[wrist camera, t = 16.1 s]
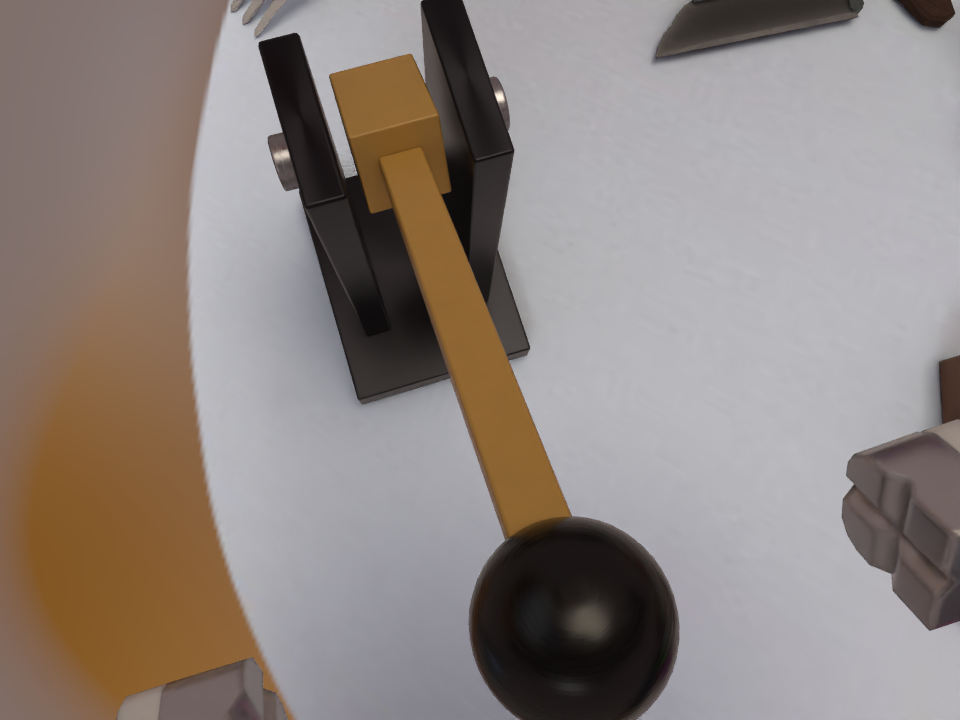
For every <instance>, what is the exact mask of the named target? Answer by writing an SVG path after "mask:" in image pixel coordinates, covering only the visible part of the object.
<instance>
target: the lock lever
mask: <svg viewBox="0 0 960 720" xmlns="http://www.w3.org/2000/svg"><path fill="white" fill-rule="evenodd" d="M329 78H330V82H331V85H332V89H333V92H334V95H335V99H336V102H337V106H338V109H339V113H340V116H341V119H342V123H343V126H344V130H345V133H346V137H347V140H348V144H349V147H350V150H351V154H352V157H353V160H354V163H355V167H356V170H357V173H358V176H359V179H360V183H361V186H362V189H363V192H364V196H365V199H366V202H367V205H368V209H369V212H370V213H376V212H380V211H383V210H387V209H390V208H393V211H394V214H395V217H396V220H397V222H398V225H399V228H400V231H401V234H402V237H403V240H404V243H405V246H406V249H407V252H408V255H409V258H410V261H411V264H412V267H413V270H414V273H415V276H416V278H417V281H418V284H419V287H420V290H421V293H422V296H423V299H424V302H425V305H426V308H427V311H428V314H429V317H430V320H431V323H432V326H433V329H434V332H435V334H436V337H437V340H438V343H439V346H440V349H441V352H442V355H443V358H444V361H445V364H446V367H447V370H448V373H449V376H450V379H451V382H452V385H453V387H454V390H455V393H456V396H457V399H458V402H459V405H460V408H461V411H462V414H463V417H464V420H465V423H466V426H467V429H468V432H469V435H470V438H471V441H472V443H473V446H474V449H475V452H476V455H477V458H478V461H479V464H480V467H481V470H482V473H483V476H484V479H485V482H486V485H487V488H488V491H489V494H490V497H491V499H492V502H493V505H494V508H495V511H496V514H497V517H498V520H499V523H500V526H501V529H502V532H503V535H504V538H505V542H503V543H502V544H501V545H500V546H499V547H498V548H497V549H496V550H495V552H494V553H493V554H492V555H491V557H490V558H489V559H488V561H487V562H486V564H485V565H484V567H483V569H482V571H481V573H480V575H479V577H478V579H477V582H476V585H475V588H474V591H473V595H472V599H471V604H470V610H469V632H470V641H471V646H472V651H473V655H474V658H475V661H476V664H477V667H478V670H479V671H480V673H481V675H482V677H483V679H484V681H485V683H486V684H487V686H488V687H489V689H490V690H491V692H492V693H493V695H494V696H495V697H496V698H497V699H498V701H499V702H500V703H501V704H502V705H503V706H504V707H505V708H506V709H507V710H508V711H509V712H510V713H512V714H513V715H514V716H515V717H517V718H518V719H520V720H636V719H638V718H639V717H640V716H641V715H642V714H643V713H645V712H646V711H647V710H648V709H649V708H650V707H651V705H652V704H653V703H654V702H655V701H656V700H657V698H658V697H659V696H660V694H661V693H662V691H663V690H664V688H665V686H666V685H667V683H668V680H669V678H670V676H671V674H672V672H673V668H674V665H675V661H676V658H677V652H678V645H679V618H678V611H677V607H676V603H675V599H674V595H673V592H672V590H671V587H670V585H669V582H668V580H667V578H666V576H665V574H664V573H663V571H662V569H661V568H660V566H659V565H658V563H657V562H656V561H655V559H654V558H653V557H652V556H651V555H650V554H649V552H648V551H647V550H646V549H645V548H644V547H643V546H642V545H641V544H640V543H638V542H637V541H636V540H635V539H634V538H632V537H631V536H629V535H628V534H626V533H625V532H623V531H622V530H620V529H618V528H616V527H614V526H612V525H610V524H607V523H604V522H601V521H598V520H594V519H590V518H584V517H575V516H572V515H571V513H570V510H569V508H568V505H567V503H566V501H565V498H564V496H563V493H562V491H561V488H560V486H559V483H558V481H557V478H556V476H555V473H554V471H553V469H552V466H551V464H550V461H549V459H548V456H547V454H546V451H545V449H544V446H543V444H542V441H541V439H540V437H539V434H538V432H537V429H536V427H535V424H534V422H533V419H532V417H531V414H530V412H529V409H528V407H527V404H526V402H525V400H524V397H523V395H522V392H521V390H520V387H519V385H518V382H517V380H516V377H515V375H514V372H513V370H512V368H511V365H510V363H509V360H508V358H507V355H506V353H505V350H504V348H503V345H502V343H501V340H500V338H499V336H498V333H497V331H496V328H495V326H494V323H493V321H492V318H491V316H490V313H489V311H488V308H487V306H486V304H485V301H484V299H483V296H482V294H481V291H480V289H479V286H478V284H477V281H476V279H475V276H474V274H473V272H472V269H471V267H470V264H469V262H468V259H467V257H466V254H465V252H464V249H463V247H462V244H461V242H460V239H459V237H458V235H457V232H456V230H455V227H454V225H453V222H452V220H451V217H450V215H449V212H448V210H447V207H446V205H445V203H444V200H443V198H442V195H441V194H445V193H448V192H451V184H450V178H449V172H448V166H447V160H446V154H445V148H444V142H443V136H442V130H441V123H440V117H439V113H438V111H437V109H436V107H435V104H434V102H433V100H432V98H431V96H430V93H429V91H428V89H427V87H426V84H425V82H424V80H423V78H422V75H421V73H420V71H419V69H418V67H417V64H416V62H415V60H414V58H413V55H412V54H407V55H403V56H399V57H395V58H391V59H387V60H383V61H379V62H375V63H372V64H368V65H364V66H360V67H356V68H352V69H348V70H344V71H340V72H337V73H333V74H330V75H329Z"/></svg>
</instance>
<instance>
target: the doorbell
mask: <svg viewBox="0 0 960 720" xmlns="http://www.w3.org/2000/svg"><path fill="white" fill-rule="evenodd" d="M940 376H941V392H942V408H943V424H945V423H948V422H951V421H954V420H957V419H959V420H960V355H959V356H956V357H952V358H949V359H946V360H943V361H940Z"/></svg>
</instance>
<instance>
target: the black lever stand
mask: <svg viewBox="0 0 960 720" xmlns="http://www.w3.org/2000/svg"><path fill="white" fill-rule="evenodd" d="M421 17H422V33H423V49H424V65H425V81H426V87H427V89H428V91H429V93H430V96H431V98H432V100H433V102H434V104H435V107H436V109H437V111H438V113H439V117H440V123H441V130H442V136H443V142H444V148H445V154H446V160H447V166H448V172H449V178H450V184H451V192H448V193H445V194H441V195H442V198H443V200H444V203H445V205H446V207H447V210H448V212H449V215H450V217H451V220H452V222H453V225H454V227H455V230H456V232H457V235H458V237H459V239H460V242H461V244H462V247H463V249H464V252H465V254H466V257H467V259H468V262H469V264H470V267H471V269H472V272H473V274H474V276H475V279H476V281H477V284H478V286H479V289H480V291H481V294H482V296H483V299H484V301H485V304H486V306H487V308H488V311H489V313H490V316H491V318H492V321H493V323H494V326H495V328H496V331H497V333H498V336H499V338H500V340H501V343H502V345H503V348H504V350H505V353H506V355H507V358H508V360H511V359H515V358H518V357H521V356H525V355H527V354H528V352H529V350H530V345H529V342H528V339H527V336H526V333H525V330H524V327H523V324H522V321H521V318H520V315H519V312H518V309H517V306H516V303H515V300H514V297H513V294H512V291H511V288H510V285H509V282H508V279H507V276H506V273H505V270H504V267H503V264H502V261H501V258H500V255H499V252H498V243H499V237H500V231H501V225H502V220H503V214H504V208H505V202H506V197H507V191H508V185H509V179H510V174H511V168H512V162H513V156H514V147H513V145H512V142H511V139H510V136H509V133H508V130H509V126H510V117H509V109H508V104H507V100H506V96H505V93H504V90H503V87H502V85H501V83H500V81H499V80H498V78H497V77H491V78H489V75H488V72H487V70H486V67H485V64H484V61H483V58H482V55H481V52H480V49H479V46H478V44H477V41H476V38H475V35H474V32H473V29H472V26H471V23H470V21H469V18H468V15H467V12H466V9H465V6H464V3H463V0H423V1H421ZM258 47H259V50H260V54H261V57H262V61H263V64H264V68H265V71H266V75H267V78H268V82H269V85H270V89H271V92H272V96H273V99H274V103H275V107H276V110H277V114H278V117H279V121H280V124H281V128H282V131H283V132H282V133H278V134H274V135H271V136H268V144H269V148H270V152H271V156H272V159H273V162H274V165H275V168H276V171H277V174H278V176H279V179H280V182H281V184H282V186H283V188H284V190H285V191H290V190H294V189H297V188H299V194H300V198H301V201H302V205H303V208H304V212H305V215H306V219H307V222H308V226H309V229H310V233H311V236H312V240H313V243H314V247H315V250H316V254H317V257H318V261H319V264H320V268H321V271H322V275H323V278H324V282H325V285H326V289H327V292H328V296H329V299H330V303H331V306H332V310H333V313H334V317H335V320H336V324H337V327H338V331H339V334H340V338H341V341H342V345H343V348H344V352H345V355H346V359H347V363H348V366H349V370H350V373H351V377H352V380H353V384H354V387H355V391H356V394H357V398H358V400H359V401H360V402H361V403H362V404H366V403H369V402H372V401H376V400H379V399H382V398H385V397H389V396H392V395H395V394H399V393H402V392H405V391H409V390H412V389H415V388H419V387H422V386H425V385H429V384H432V383H435V382H439V381H442V380H445V379H448V378H450V376H449V373H448V370H447V367H446V364H445V361H444V358H443V355H442V352H441V349H440V346H439V343H438V340H437V337H436V334H435V332H434V329H433V326H432V323H431V320H430V317H429V314H428V311H427V308H426V305H425V302H424V299H423V296H422V293H421V290H420V287H419V284H418V281H417V278H416V276H415V273H414V270H413V267H412V264H411V261H410V258H409V255H408V252H407V249H406V246H405V243H404V240H403V237H402V234H401V231H400V228H399V225H398V222H397V220H396V217H395V214H394V211H393V208H390V209H387V210H383V211H380V212H376V213H370V212H369V209H368V205H367V202H366V199H365V196H364V192H363V189H362V186H361V183H360V179H359V176H358V175H356V176H353V177H349V178H345V176H344V173H343V170H342V166H341V163H340V160H339V157H338V154H337V151H336V148H335V145H334V142H333V138H332V135H331V132H330V129H329V126H328V123H327V120H326V117H325V113H324V110H323V107H322V104H321V101H320V98H319V95H318V92H317V89H316V85H315V82H314V79H313V76H312V73H311V70H310V67H309V64H308V60H307V57H306V54H305V51H304V48H303V45H302V42H301V39H300V36H299V35H298V34H297V33H292V34H288V35H284V36H280V37H276V38H272V39H268V40H264V41H261V42H259V45H258Z"/></svg>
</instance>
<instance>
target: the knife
mask: <svg viewBox="0 0 960 720" xmlns="http://www.w3.org/2000/svg"><path fill="white" fill-rule="evenodd" d="M899 1H900V2H901V3H902V4H903V6H904V7H905V8H906V9H907V10H908V11H909V13H910V14H911V15H912V16H913V17H915V18H916V19H917V20H918V21H919V22H920V23H921V24H922V25H924V26H931V27H940V26H942V25H943V24H945V23H946V22H947V21H948V20H950V19H951V18H952V17H953V16H954V14H955V11H954V8H953V5H952V2H951V0H899ZM863 5H864V2H863V0H692V1H691V2H689V3H688V4H686V5H685V6H684V7H683V8H682V9H681V10H680V11H679V13H678V14H677V15H676V17H675V19H674V21H673V23H672V25H671V26H670V27H669V29H668V30H667V31H666V32H665V33H664V35H663V37H662V39H661V42H660V44H659V46H658V49H657V53H656V58H657V57H662V56H667V55H672V54H677V53H682V52H687V51H692V50H697V49H702V48H707V47H712V46H717V45H722V44H727V43H732V42H736V41H741V40H746V39H751V38H756V37H761V36H766V35H771V34H776V33H781V32H786V31H791V30H796V29H801V28H806V27H811V26H816V25H821V24H826V23H831V22H835V21H840V20H845V19H850V18H855V17H858V13H859V12H860V11H861V10H862V8H863Z"/></svg>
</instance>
